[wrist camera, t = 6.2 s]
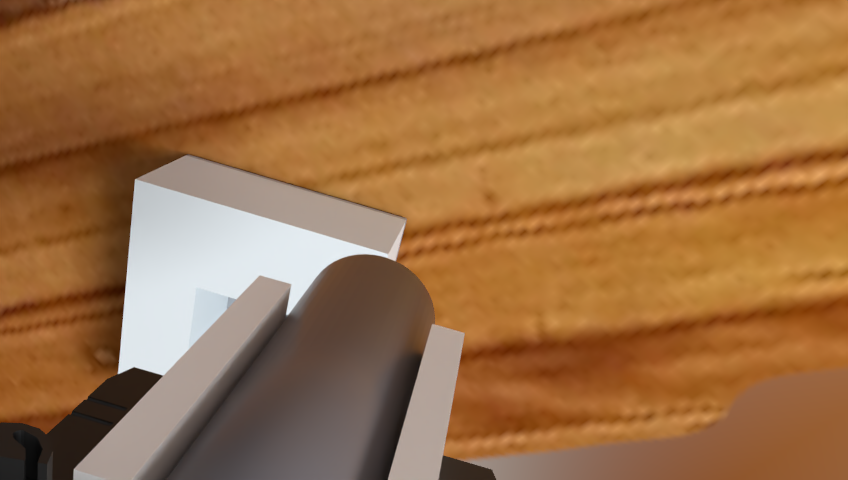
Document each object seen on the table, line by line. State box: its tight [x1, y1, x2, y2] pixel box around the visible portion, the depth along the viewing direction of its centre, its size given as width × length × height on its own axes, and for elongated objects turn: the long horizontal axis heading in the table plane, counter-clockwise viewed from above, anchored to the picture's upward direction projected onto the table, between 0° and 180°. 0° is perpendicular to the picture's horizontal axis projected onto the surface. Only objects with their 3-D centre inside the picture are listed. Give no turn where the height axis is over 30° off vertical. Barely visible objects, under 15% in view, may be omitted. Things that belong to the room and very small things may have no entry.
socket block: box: [118, 155, 407, 376], centre depth 34 cm, size 12×14×5 cm
